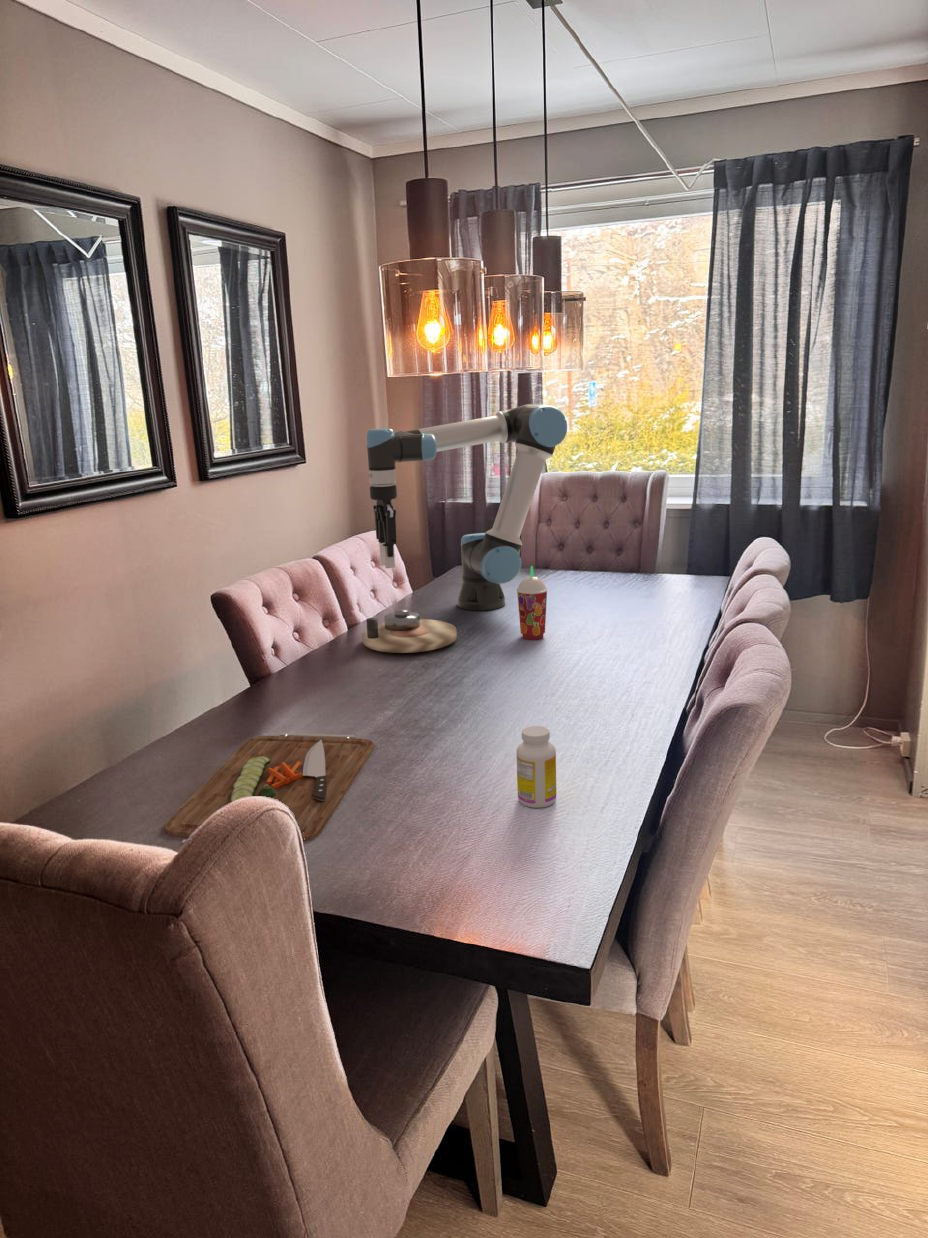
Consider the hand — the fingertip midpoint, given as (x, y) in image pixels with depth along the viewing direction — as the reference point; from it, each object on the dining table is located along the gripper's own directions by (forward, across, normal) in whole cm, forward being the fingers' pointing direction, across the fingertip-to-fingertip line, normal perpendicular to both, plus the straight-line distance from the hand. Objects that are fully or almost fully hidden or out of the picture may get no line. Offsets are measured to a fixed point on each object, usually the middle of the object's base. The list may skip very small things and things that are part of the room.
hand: (387, 566), depth 256 cm
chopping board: (+19, +90, -51) cm, 105 cm away
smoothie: (+19, +28, +32) cm, 47 cm away
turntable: (+18, +16, 0) cm, 24 cm away
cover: (+15, +10, 0) cm, 19 cm away
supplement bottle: (+19, +116, -12) cm, 119 cm away
